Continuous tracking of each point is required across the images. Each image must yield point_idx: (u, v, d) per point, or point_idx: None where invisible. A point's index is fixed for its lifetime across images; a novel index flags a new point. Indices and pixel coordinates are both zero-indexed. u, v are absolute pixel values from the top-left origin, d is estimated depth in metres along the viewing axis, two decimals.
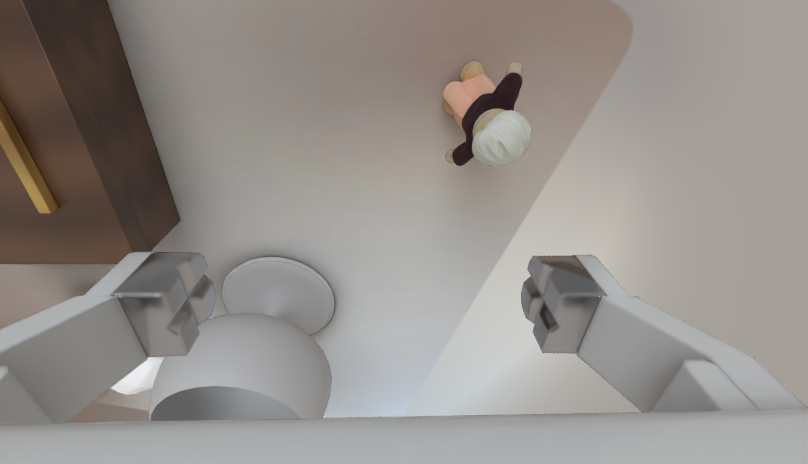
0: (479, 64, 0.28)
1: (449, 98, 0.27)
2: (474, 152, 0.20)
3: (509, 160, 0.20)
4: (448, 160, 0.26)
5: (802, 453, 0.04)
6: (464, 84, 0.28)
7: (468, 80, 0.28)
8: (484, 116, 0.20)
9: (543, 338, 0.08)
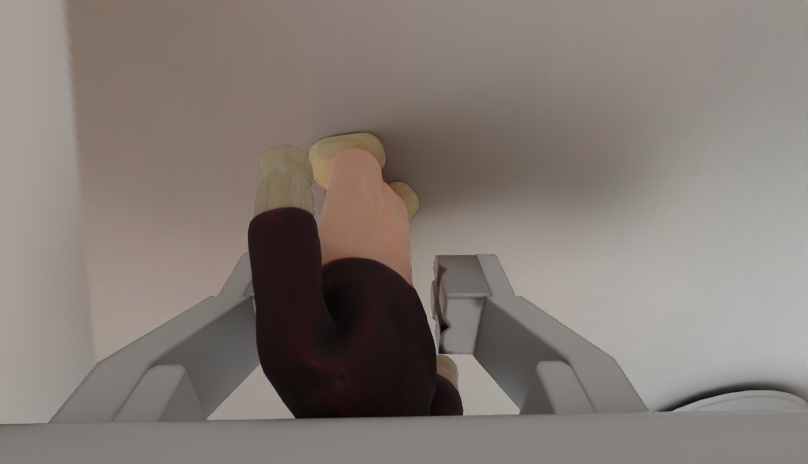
0: (317, 146, 0.12)
1: None
2: None
3: None
4: None
5: (802, 453, 0.04)
6: None
7: None
8: None
9: (438, 338, 0.08)
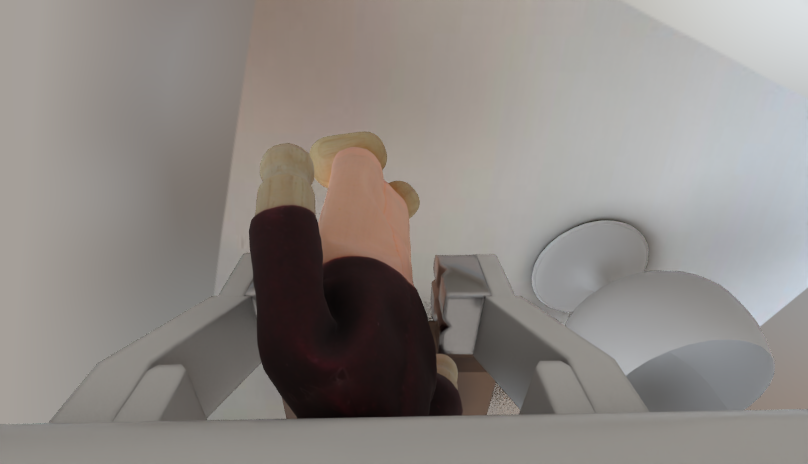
0: (318, 145, 0.12)
1: None
2: None
3: None
4: None
5: (802, 453, 0.04)
6: None
7: None
8: None
9: (438, 339, 0.08)
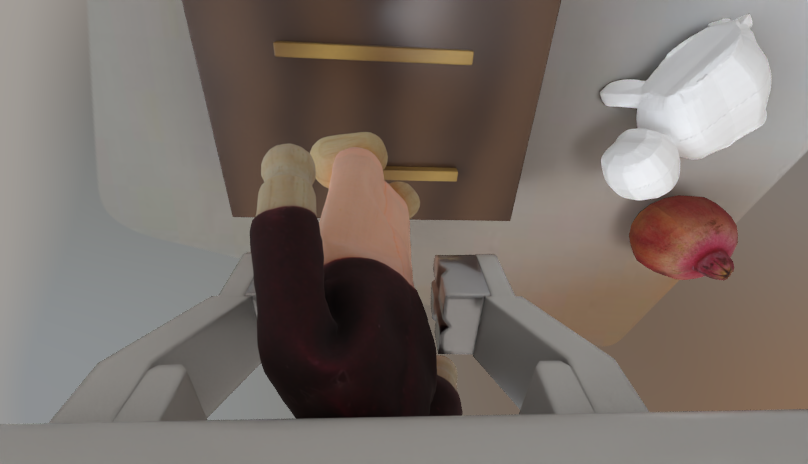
0: (319, 145, 0.12)
1: None
2: None
3: None
4: None
5: (802, 453, 0.04)
6: None
7: None
8: None
9: (438, 338, 0.08)
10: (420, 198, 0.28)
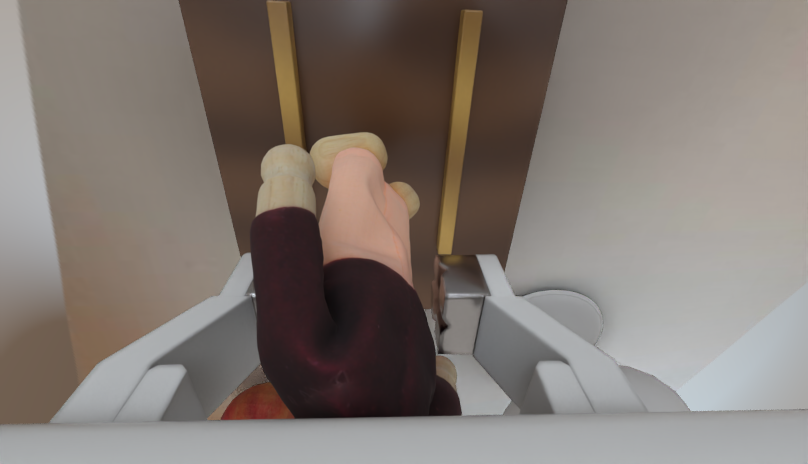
0: (319, 145, 0.12)
1: None
2: None
3: None
4: None
5: (802, 453, 0.04)
6: None
7: None
8: None
9: (438, 339, 0.08)
10: None
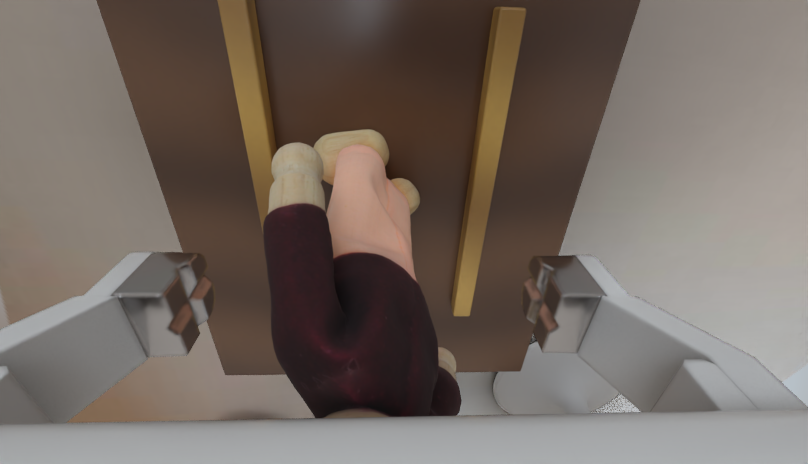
0: (322, 142, 0.12)
1: None
2: None
3: None
4: None
5: (802, 453, 0.04)
6: None
7: None
8: None
9: (544, 338, 0.08)
10: (231, 261, 0.15)
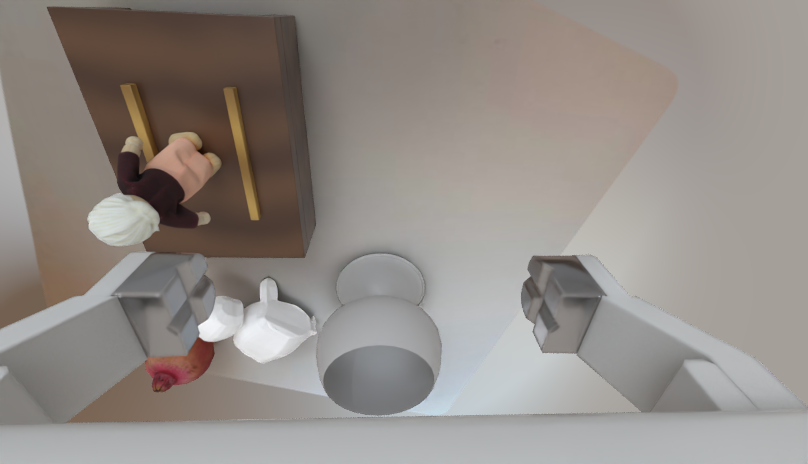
0: (171, 137, 0.30)
1: None
2: None
3: (136, 227, 0.22)
4: (203, 224, 0.28)
5: (802, 453, 0.04)
6: None
7: None
8: None
9: (543, 338, 0.08)
10: None
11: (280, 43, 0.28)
